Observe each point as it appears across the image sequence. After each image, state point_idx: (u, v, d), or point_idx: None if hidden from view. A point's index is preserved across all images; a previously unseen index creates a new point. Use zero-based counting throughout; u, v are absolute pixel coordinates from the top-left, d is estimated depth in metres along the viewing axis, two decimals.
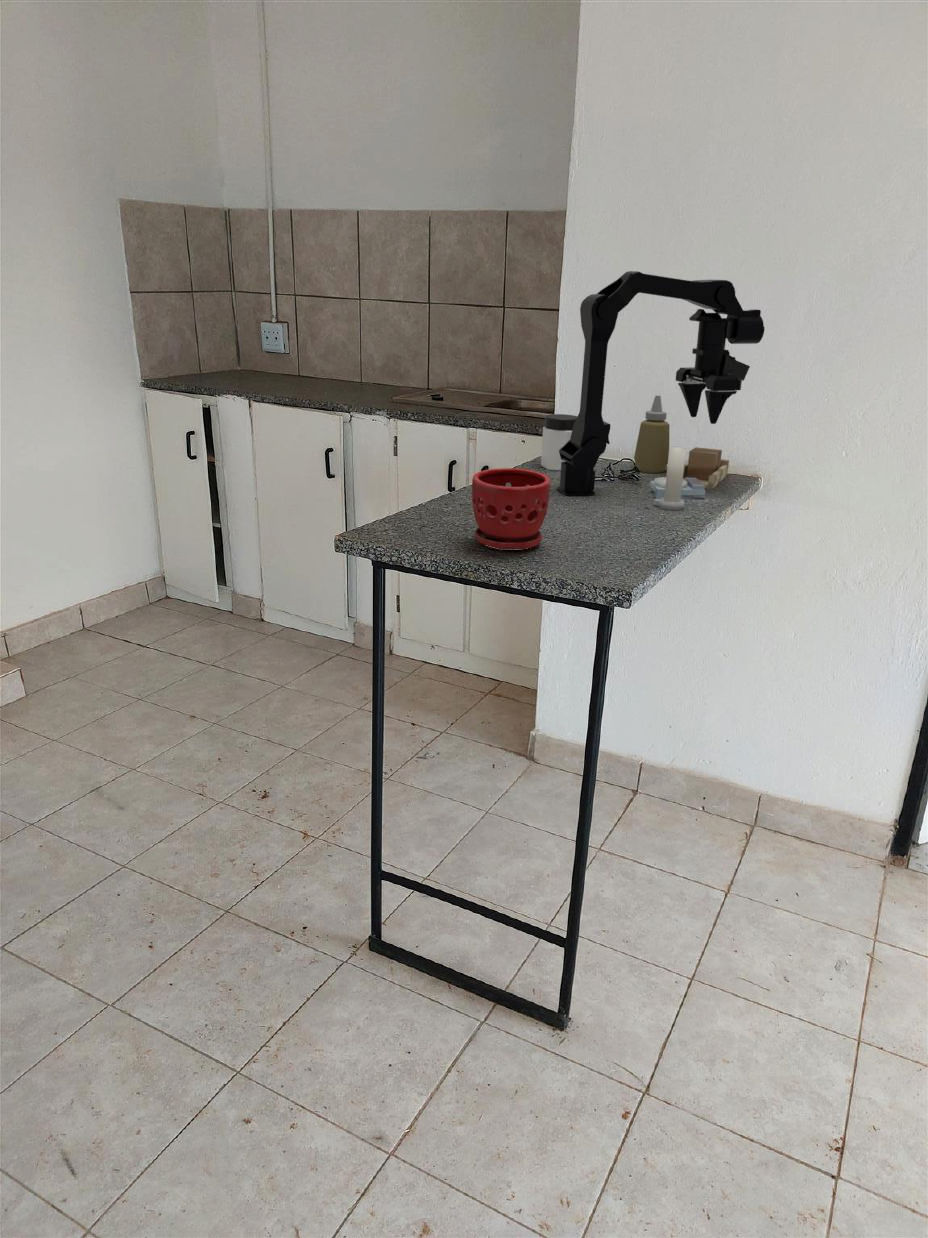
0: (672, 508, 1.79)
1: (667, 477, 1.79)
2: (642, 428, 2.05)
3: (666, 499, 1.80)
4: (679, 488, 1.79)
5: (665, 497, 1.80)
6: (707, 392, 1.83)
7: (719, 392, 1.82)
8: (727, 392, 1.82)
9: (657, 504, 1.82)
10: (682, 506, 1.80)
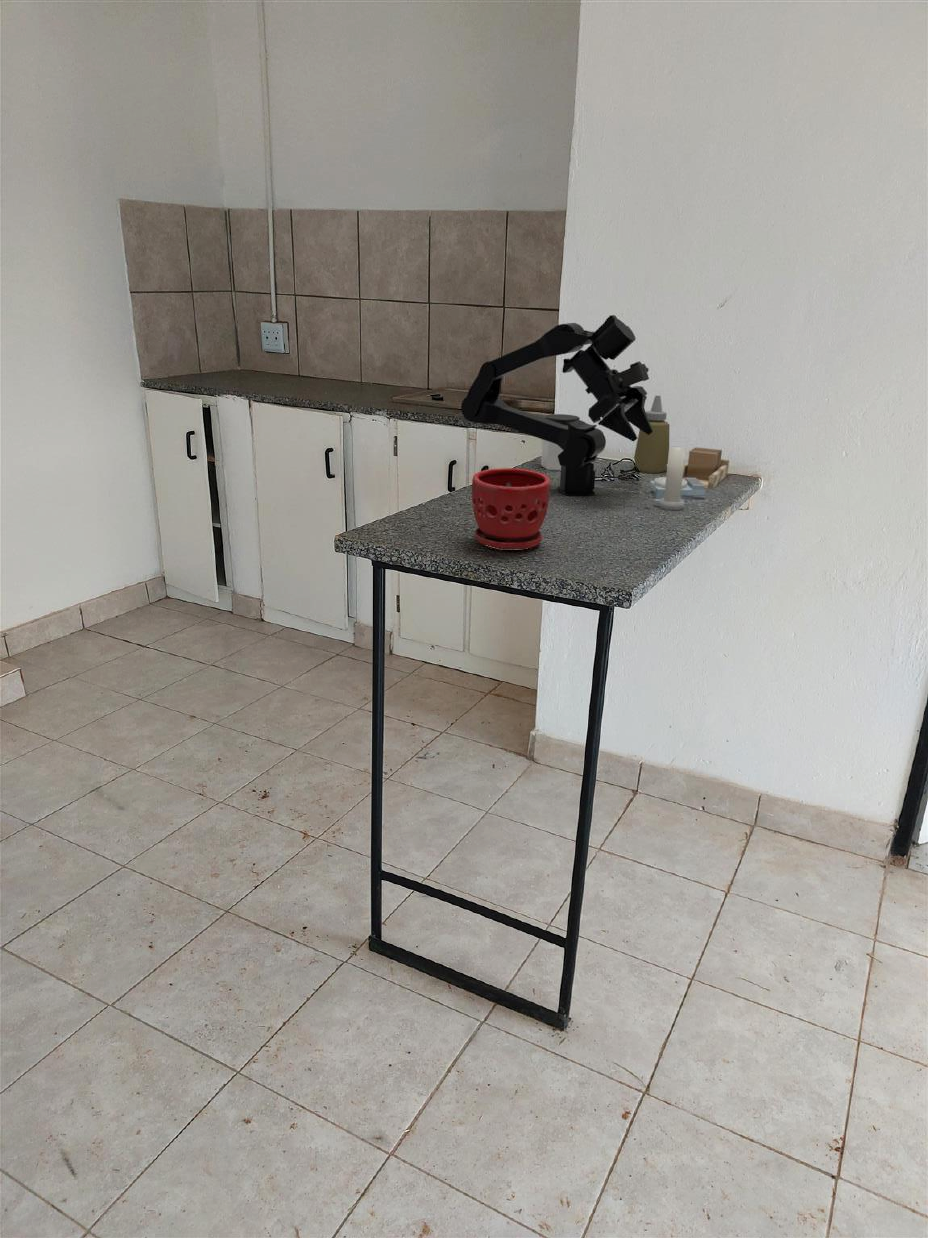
0: (672, 508, 1.79)
1: (667, 477, 1.79)
2: None
3: (666, 499, 1.80)
4: (679, 488, 1.79)
5: (665, 497, 1.80)
6: None
7: (604, 418, 1.75)
8: (610, 412, 1.74)
9: (657, 504, 1.82)
10: (682, 506, 1.80)
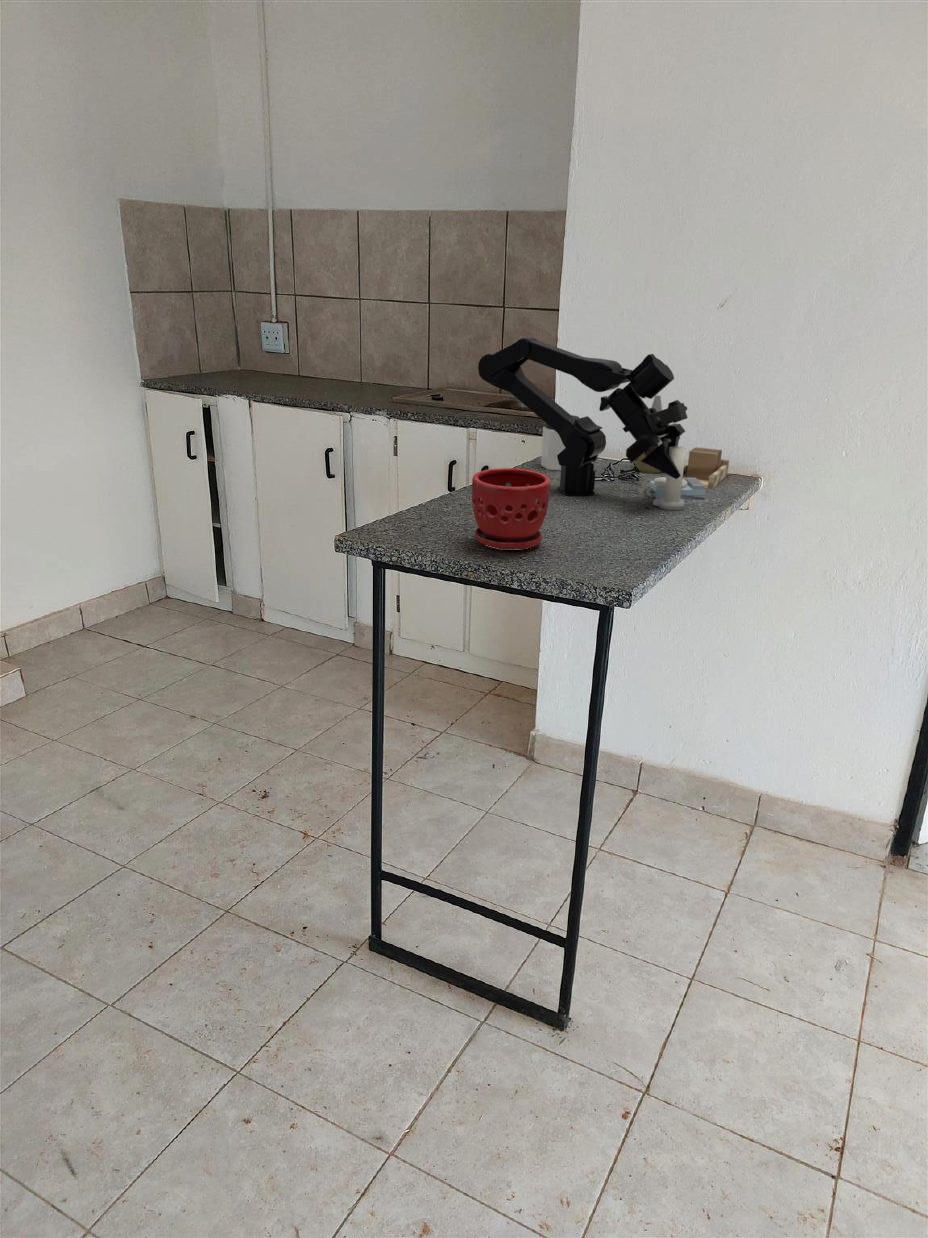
0: (672, 508, 1.79)
1: (667, 477, 1.79)
2: None
3: (666, 499, 1.80)
4: (679, 488, 1.79)
5: (665, 497, 1.80)
6: None
7: (647, 456, 1.75)
8: (654, 450, 1.74)
9: (657, 504, 1.82)
10: (682, 506, 1.80)
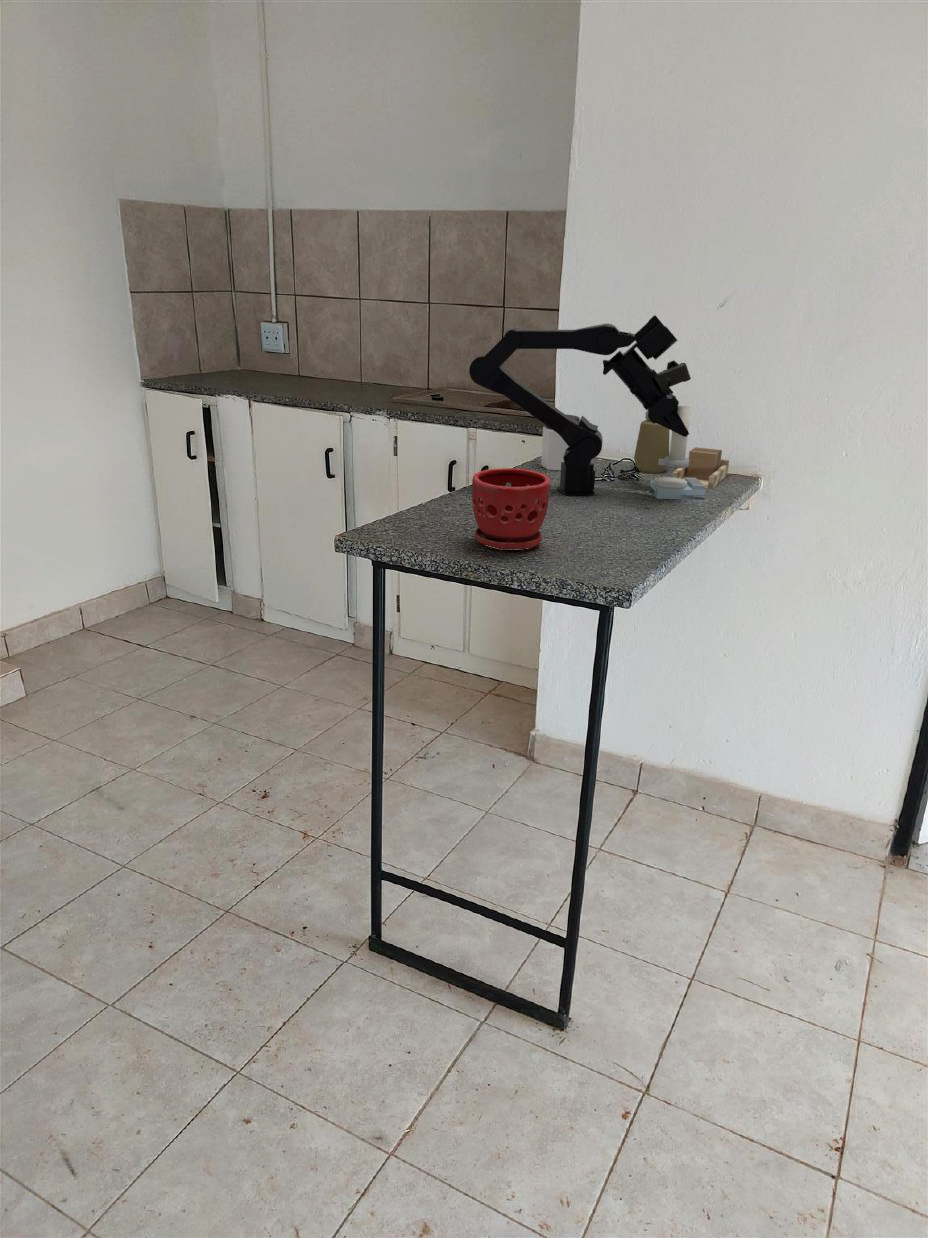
0: (682, 466, 1.84)
1: (674, 436, 1.83)
2: (642, 428, 2.05)
3: (674, 458, 1.84)
4: (685, 446, 1.84)
5: (672, 456, 1.84)
6: None
7: (662, 416, 1.78)
8: (669, 410, 1.77)
9: (663, 463, 1.86)
10: (688, 463, 1.85)
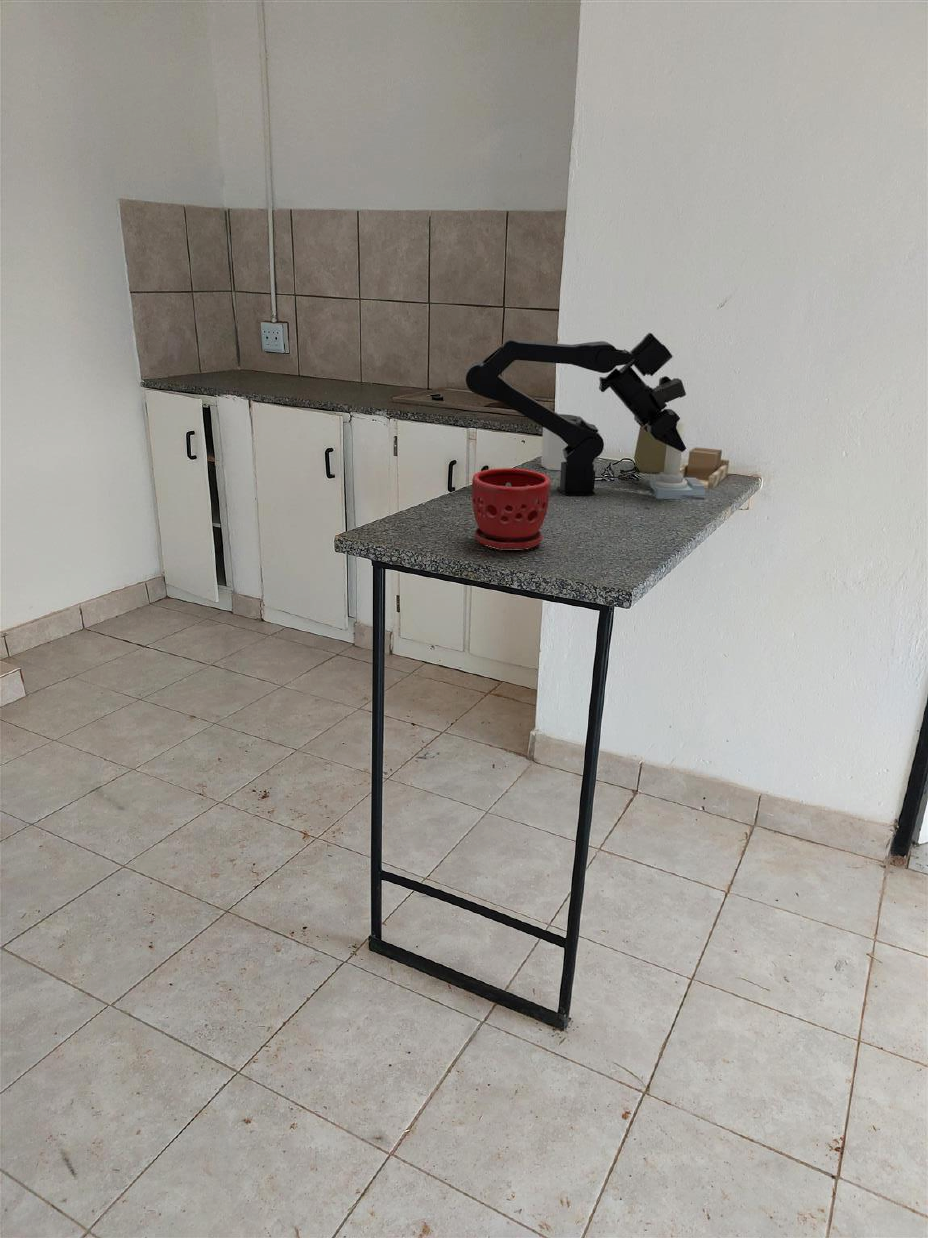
0: (678, 481, 1.88)
1: (670, 452, 1.87)
2: (642, 428, 2.05)
3: (670, 473, 1.88)
4: (680, 461, 1.88)
5: (668, 471, 1.89)
6: None
7: None
8: None
9: (659, 479, 1.90)
10: (682, 478, 1.90)
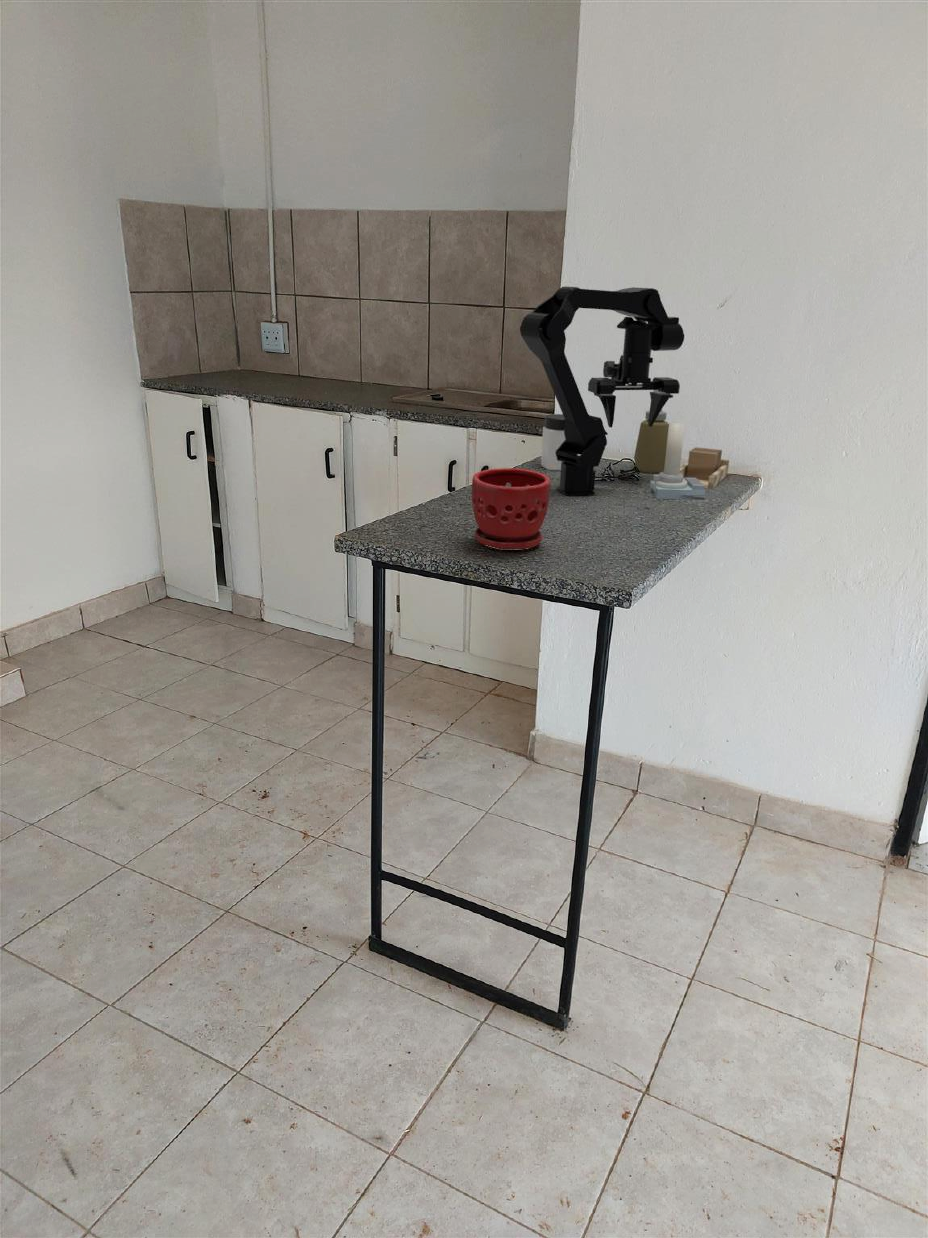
0: (678, 481, 1.88)
1: (670, 452, 1.87)
2: (642, 428, 2.05)
3: (670, 473, 1.88)
4: (680, 461, 1.88)
5: (668, 471, 1.89)
6: (666, 396, 1.90)
7: None
8: None
9: (659, 479, 1.90)
10: (682, 478, 1.90)
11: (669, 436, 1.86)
